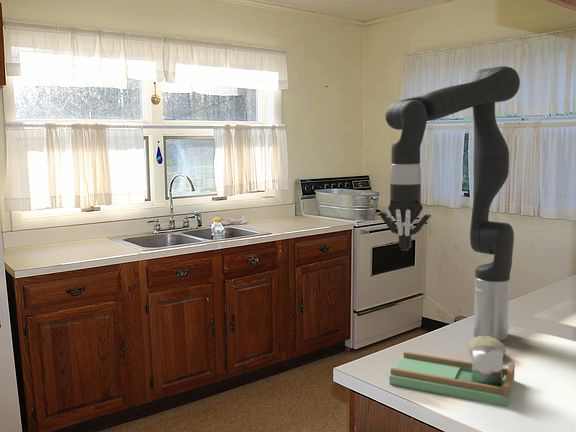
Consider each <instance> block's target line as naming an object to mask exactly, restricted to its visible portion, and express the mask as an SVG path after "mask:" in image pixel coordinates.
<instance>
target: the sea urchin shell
mask: <svg viewBox="0 0 576 432" xmlns="http://www.w3.org/2000/svg"><path fill="white" fill-rule="evenodd" d="M476 346H492V347H496V348H498V349H500V350H502V352H503V357H505V355H506V354H507V353H506V352H507V349H506V347H505V346H506V345H504V343H503V342H501V341H498V340H497V339H495V338H493V337H489V336H477V337H476V336H474V338H472V339H471V341H470V342H469V345H468V352H469V353H470V354H471V355H472V348H474V347H476Z"/></svg>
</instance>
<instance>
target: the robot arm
mask: <svg viewBox="0 0 576 432" xmlns="http://www.w3.org/2000/svg"><path fill="white" fill-rule="evenodd" d="M520 84H521V79H520V75H519V74H518V72H517V70H516V69H514V68H513V67H510V66H506V65H505V66H504V65H503V66H495V67H487V68H482V69H479V70H478V71H477V72H476V73H474V75H473V78H472V80H471V81H470V82H466V83H461V84H455V85H451V86H446V87H442V88H439V89H437V90H433V91H431V92H427V93H426V94H422V95H420V96H415V97H414V96H413V97H410V98H409V97H408V98H405V99H402V100H398V101H395V102H392V103H391V104H390V105H389V107H388V108H387V110H386V112H385V121H386V124H387V125H388V126H389V128H391V129H393V130H397V131H401V133H400V138H399V139H396V140H394V141H393V142H392V144H391V154H390V155H391V167H390V172H389V173H390V174H389V176H390V177H389V196H390V197H389V201H390V202H389V205H388V207H387V208H388V209H386V210H385V211H384V212H381V213H380V218H381V220H382V221H383V222H384V223H385V224H386V226H387V227H388V229H389V230H390V232H392V234H396V235H398V247H399V249H400V251H407V252H408V250H409V251H410V248H411V247H412V236H413V235H416V234H418V233H419V232H420V231H421V229H422V228H423V227H424V226H425V225H426V224H427V222H428V221H429V220H430V218H431V217H432V215H431V214H430V213H427V212H426V211H425V210H423V209H424V207H423V206H422V203H421V201H422V197H421V196H422V169H421V146H422V145H421V144H422V143H423V139H424V134H425V131H426V127H427V122H432V121H436V120H440V119H441V118H442V119H443V118H445V117H447V116H450V115H454V114H457V113H458V112H462V111H465V110H467V109H470V108H472V113H473V114H472V116H473V193H472V194H473V195H472V196H473V199H472V210H471V218H470V220H471V222H470V227H469V228H470V229H469V230H470V231H469V243H470V247H471V249H472V250H473V251H474V252H476V253H480V254H486V255H493V260H492V262H490V263H485V264H480V265H478V266H477V267H476V268H475V270H474V271H475V273H474V274H475V275H474V277H475V278H474V309H473V310H474V311H473V313H474V314H473V315H474V316H473V336H474V337H477V336H489V337H493V338H495V339H497V340H498V341H500V342H501V341H502V342H503V341H505V340H507V339H508V338H509V337H508V335H509V317H510V316H509V312H510V311H509V309H510V307H509V306H510V281H511V271H512V267H513V266H512V265H513V252H514V242H515V232H514V229H513V227H512V225H511V224H510V223H507V222H501V221H500V222H499V221H491V220H489V215H490V209H491V206H492V202H493V200H494V199H495V197H496V196H497V194H498V193H499V192H500V190H501V189H502V188H503V186H504V185H505V183H506V181H507V180H508V176H509V169H510V150H509V147H508V144H507V142H506V139H505V138H504V136H503V134H502V133H501V131H500V128H499V126H498V124H497V123H498V122H497V120H496V103H501V102H506V101H509V100H511V99H513V98H514V97H515V96H516V95H517V93H518V92H519V89H520ZM392 217H393V218H394V220H395V221H396V223H395V221H394V220H393V219H392ZM418 217H419V221H418V223H416V224H415V225H416V226H414V221H416V219H417V218H418ZM413 226H414V228H413Z"/></svg>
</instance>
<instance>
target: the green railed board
mask: <svg viewBox="0 0 576 432" xmlns="http://www.w3.org/2000/svg"><path fill="white" fill-rule="evenodd" d="M515 365H516V363H515V362H513V361H510V362H509V366H508V367H504V366H502V384H501V387H498V386H492V385H486V384H481V383H475V382H471V371H472V361H466V360H460V359H455V358H454V359H453V358H449V357H448V358H447V357H441V356H435V355H430V354H429V355H428V354H423V353H417V352H410V351H404V352H403V357H402V359H401V360H400V361H399V362H398V364H397V365H396V366H395V367H391V368H390V373H389V376H388V377H389V378H388V379H389V380H388V381H389V385H393V386H400V387H404V388H409V389H415V390H421V391H426V392H429V393H436V394H441V395H445V396H451V397H455V398H456V397H457V398H462V399H466V400H472V401H478V402H483V403H487V404H492V403H493V404H494V405H497V404H498V405H497V406H502V405H503V407H508V406H509V402H510V399H511V394H512V390H513V386H514V383H515V367H516V366H515Z"/></svg>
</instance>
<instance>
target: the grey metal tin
mask: <svg viewBox="0 0 576 432" xmlns="http://www.w3.org/2000/svg"><path fill="white" fill-rule="evenodd" d="M503 359H504V356H503V352H502V350H500V349H498V348H496V347H492V346H476V347H474V348H472V354H471V362H472V371H471V382H475V383H481V384H486V385H492V386H498V387H501V384H502V367H503V366H504V365H503V362H504V360H503Z"/></svg>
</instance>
